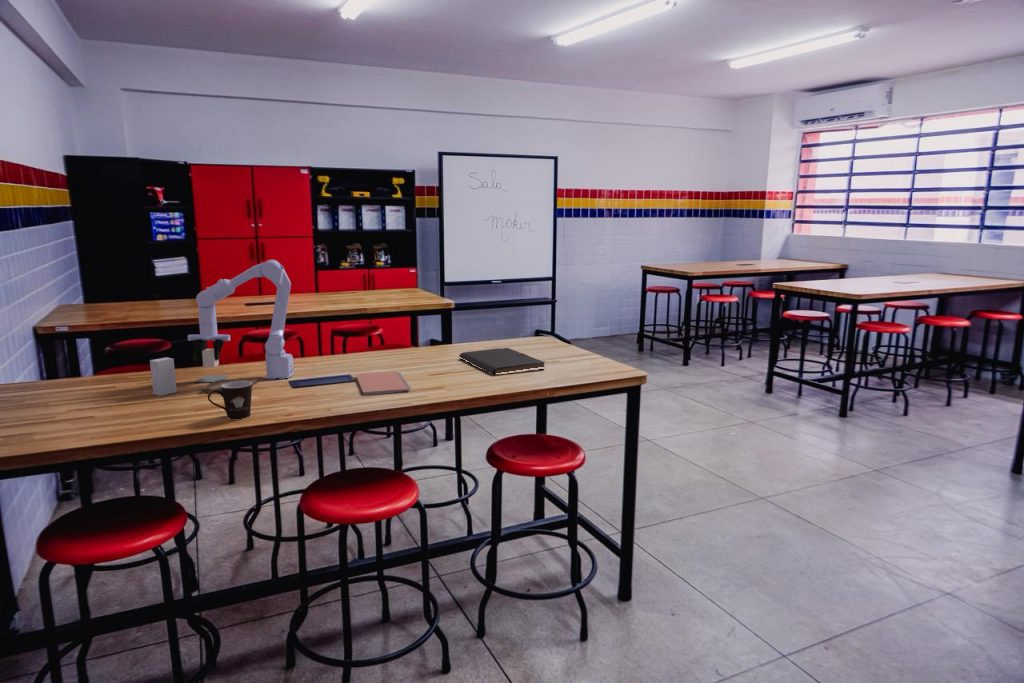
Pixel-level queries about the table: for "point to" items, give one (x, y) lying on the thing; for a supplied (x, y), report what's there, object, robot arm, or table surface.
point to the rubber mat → (211, 378)
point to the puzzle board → (217, 385)
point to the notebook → (382, 383)
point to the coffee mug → (235, 399)
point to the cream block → (209, 358)
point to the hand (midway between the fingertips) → (210, 359)
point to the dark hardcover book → (501, 360)
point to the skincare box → (163, 376)
